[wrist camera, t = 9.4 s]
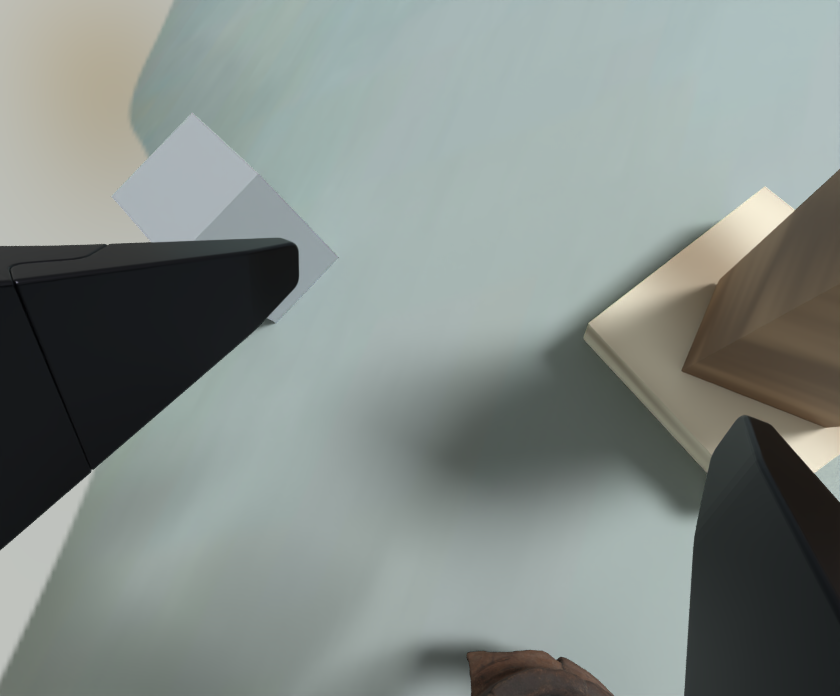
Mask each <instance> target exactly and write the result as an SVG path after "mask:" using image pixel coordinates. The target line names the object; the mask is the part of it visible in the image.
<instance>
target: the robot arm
mask: <svg viewBox="0 0 840 696" xmlns="http://www.w3.org/2000/svg"><path fill="white" fill-rule="evenodd" d="M298 281H299V249H298V247H297V245H296V244H295V243H294V242H291V241H289V240H286V239H283V238H252V239H226V240H200V241H174V242H148V243H121V244H109V245H106V244H95V245H61V246H0V550H1V549H2V548H4V547H5V546H6V545H7V544H8V543H9V542H11V541H12V540H13V539H14V538H15V537H16V536H18V535H19V534H20V533H21V532H22V531H23V530H24V529H26V528H27V527H28V526H29V525H30V524H31V523H33V522H34V521H35V520H36V519H37V518H38V517H40V516H41V515H42V514H43V513H44V512H45V511H47V510H48V509H49V508H50V507H51V506H52V505H53V504H55V503H56V502H57V501H58V500H59V499H60V498H61V497H63V496H64V495H65V494H66V493H67V492H69V491H70V490H71V489H72V488H73V487H74V486H76V485H77V484H78V483H79V482H80V481H81V480H83V479H84V478H85V477H86V476H87V475H88V474H90V473H91V470H93V469H95V468H96V467H97V466H98V465H99V464H101V463H102V462H103V461H104V460H105V459H106V458H108V457H109V456H110V455H111V454H112V453H113V452H115V451H116V450H117V449H118V448H119V447H120V446H122V445H123V444H124V443H125V442H126V441H127V440H129V439H130V438H131V437H132V436H133V435H134V434H135V433H137V432H138V431H139V430H140V429H141V428H142V427H144V426H145V425H146V424H147V423H148V422H149V421H151V420H152V419H153V418H154V417H155V416H156V415H158V414H159V413H160V412H161V411H162V410H163V409H165V408H166V407H167V406H168V405H169V404H170V403H172V402H173V401H174V400H175V399H176V398H177V397H179V396H180V395H181V394H182V393H183V392H184V391H185V390H187V389H188V388H189V387H190V386H191V385H192V384H194V383H195V382H196V381H197V380H198V379H199V378H201V377H202V376H203V375H204V374H205V373H206V372H208V371H209V370H210V369H211V368H212V367H213V366H215V365H216V364H217V363H218V362H219V361H220V360H222V359H223V358H224V357H225V356H226V355H227V354H229V353H230V352H231V351H232V350H233V349H234V348H235V347H237V346H238V345H239V344H240V343H241V342H242V341H244V340H245V339H246V338H247V337H248V336H249V335H250V334H252V333H253V332H254V331H255V330H256V329H257V328H258V327H259V326H260V325H261V324H262V323H263V322H264V321H265V320H266V318H267V317H268V316H269V315H270V314H271V313H272V312H273V311H274V310H275V309H276V308H277V307H278V306H279V305H280V304H281V303H282V302H283V300H284V299H285V298H286V297H287V296H288V295H289V294H290V293H291V292H292V291H293V290H294V289H295V288H296V286H297V284H298ZM684 696H840V502H839V501H838V500H837V499H836V498H835V497H834V495H833V494H832V493H831V492H830V491H829V490H828V489H827V487H826V486H825V485H824V484H823V483H822V482H821V481H820V479H819V478H818V477H817V476H816V475H815V474H814V473H813V471H812V470H811V469H810V468H809V467H808V466H807V465H806V464H805V462H804V461H803V460H802V459H801V458H800V457H799V456H798V454H797V453H796V452H795V451H794V450H793V449H792V448H791V446H790V445H789V444H788V443H787V442H786V441H785V440H784V438H783V437H782V436H781V435H780V434H779V433H778V432H777V431H776V429H775V428H774V427H773V426H772V425H771V424H769V423H767V422H764V421H761V420H759V419H756V418H753V417H751V416H748V415H742V416H740V417H739V418H738V419H736V421H735V422H734V423H733V425H732V426H731V428H730V429H729V430H728V432H727V433H726V434H725V436H724V437H723V439H722V440H721V441H720V443H719V444H718V446H717V447H716V448H715V450H714V452H713V454H712V457H711V459H710V463H709V468H708V473H707V478H706V482H705V487H704V492H703V497H702V501H701V506H700V511H699V515H698V520H697V525H696V530H695V536H694V546H693V560H692V576H691V593H690V609H689V625H688V642H687V658H686V675H685V691H684Z"/></svg>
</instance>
